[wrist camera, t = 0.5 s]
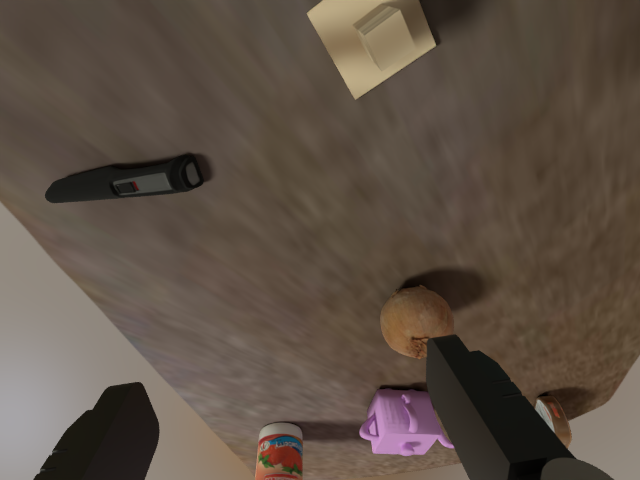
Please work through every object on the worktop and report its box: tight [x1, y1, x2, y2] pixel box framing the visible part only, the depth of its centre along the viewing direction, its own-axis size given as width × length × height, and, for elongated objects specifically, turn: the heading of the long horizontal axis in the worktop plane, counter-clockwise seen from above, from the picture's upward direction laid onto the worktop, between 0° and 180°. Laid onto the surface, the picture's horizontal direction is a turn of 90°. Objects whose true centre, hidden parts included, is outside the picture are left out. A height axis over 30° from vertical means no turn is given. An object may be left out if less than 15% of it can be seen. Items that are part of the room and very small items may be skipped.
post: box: [307, 0, 436, 100], centre depth 25 cm, size 8×8×8 cm
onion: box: [380, 285, 454, 359], centre depth 45 cm, size 10×9×10 cm
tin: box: [534, 395, 572, 449], centre depth 68 cm, size 15×3×8 cm, turn 16°
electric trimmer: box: [45, 155, 204, 203], centre depth 35 cm, size 4×16×3 cm, turn 97°
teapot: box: [360, 388, 454, 456], centre depth 63 cm, size 18×14×10 cm
